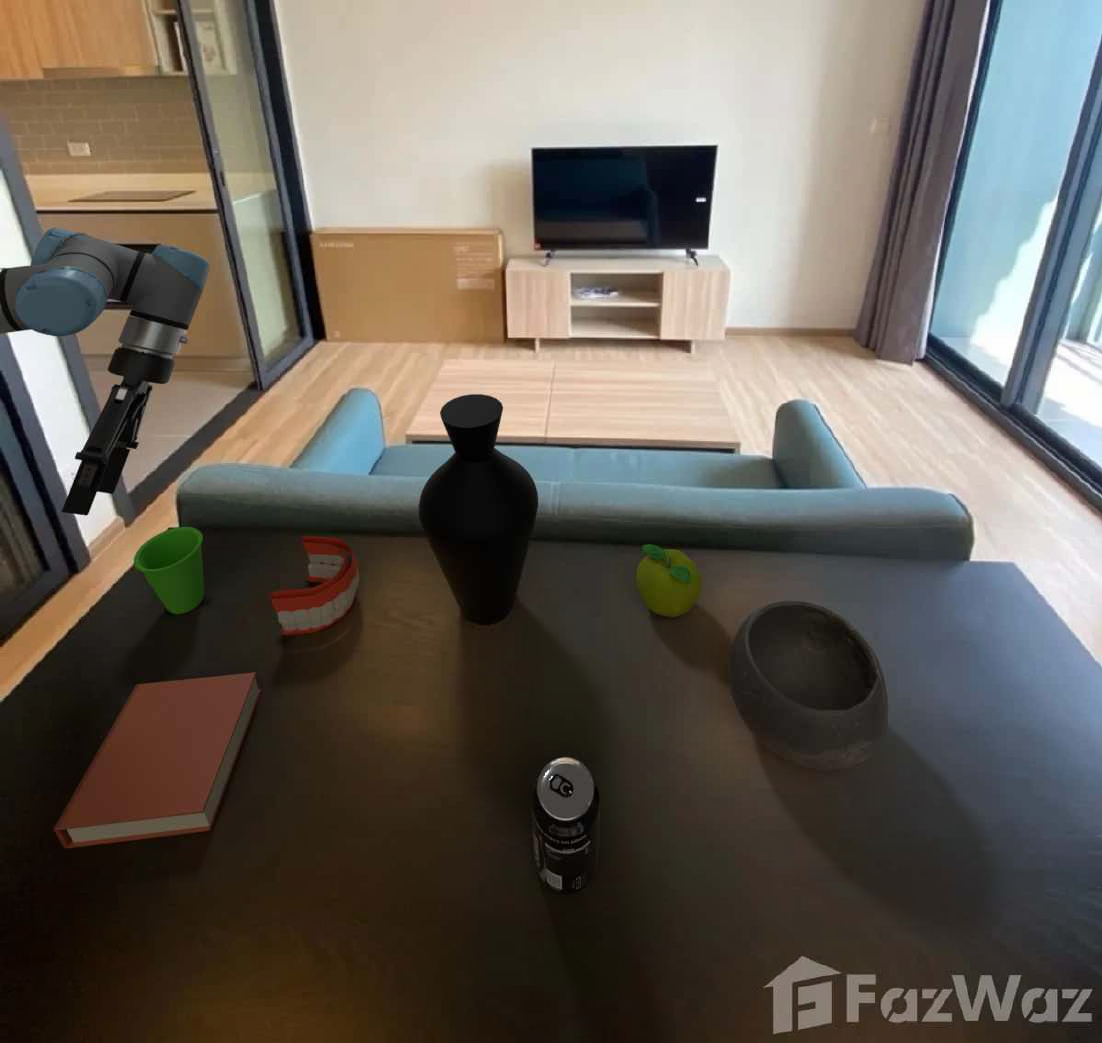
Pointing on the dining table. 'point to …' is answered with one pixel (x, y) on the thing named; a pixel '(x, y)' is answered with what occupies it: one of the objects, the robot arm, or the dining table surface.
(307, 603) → the toy
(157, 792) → the book
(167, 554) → the cup
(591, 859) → the beverage can
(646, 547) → the fruit
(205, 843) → the dining table surface
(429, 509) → the vase
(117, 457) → the robot arm
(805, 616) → the bowl
